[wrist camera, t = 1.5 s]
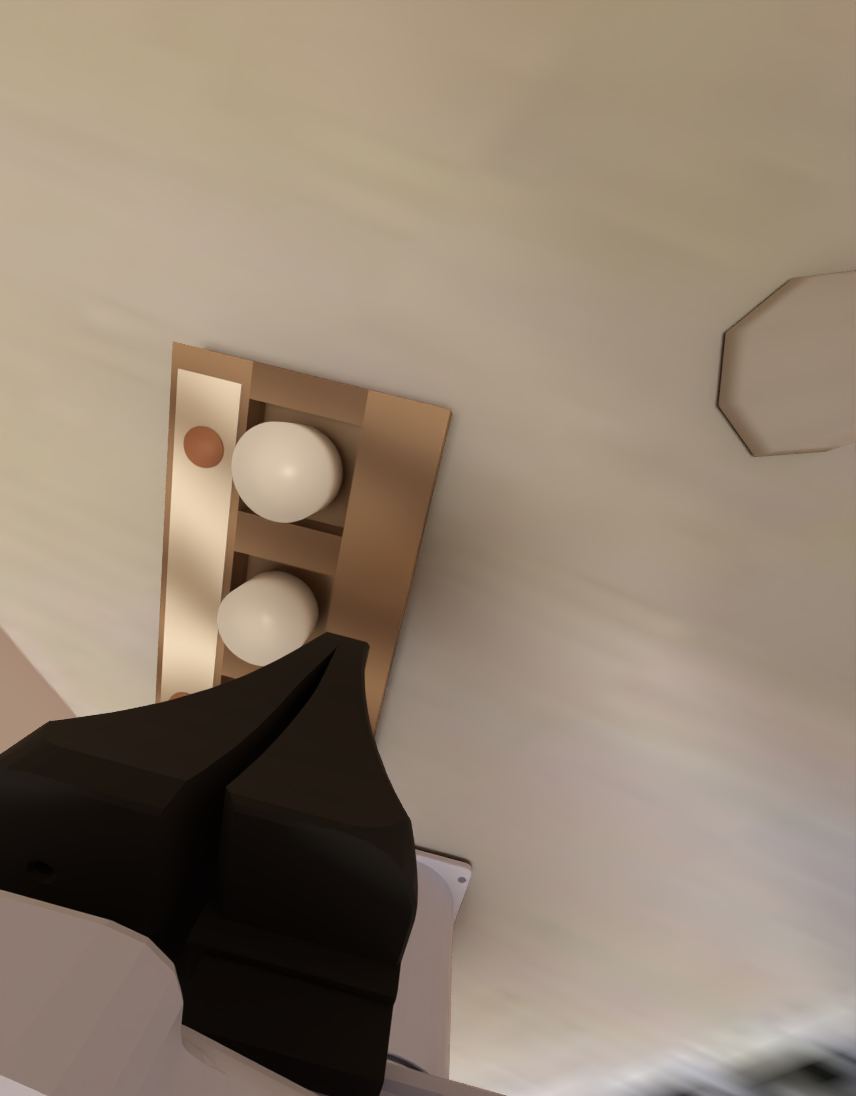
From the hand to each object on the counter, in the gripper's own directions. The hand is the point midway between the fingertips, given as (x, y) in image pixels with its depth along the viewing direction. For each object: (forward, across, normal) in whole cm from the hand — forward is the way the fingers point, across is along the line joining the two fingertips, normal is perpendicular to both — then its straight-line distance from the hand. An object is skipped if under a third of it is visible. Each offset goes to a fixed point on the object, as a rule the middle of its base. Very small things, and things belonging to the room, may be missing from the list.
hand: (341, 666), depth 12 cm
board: (+9, +5, +3) cm, 11 cm away
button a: (+8, +5, -4) cm, 10 cm away
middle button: (+8, +5, +3) cm, 10 cm away
